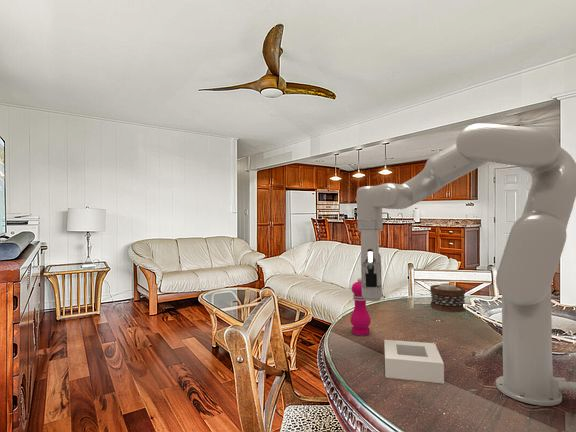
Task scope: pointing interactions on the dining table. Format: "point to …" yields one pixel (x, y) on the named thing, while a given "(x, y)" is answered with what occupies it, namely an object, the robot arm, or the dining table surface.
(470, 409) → the dining table surface
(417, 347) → the socket block
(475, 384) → the dining table surface
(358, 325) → the pepper mill
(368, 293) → the energy drink can
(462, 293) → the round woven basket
